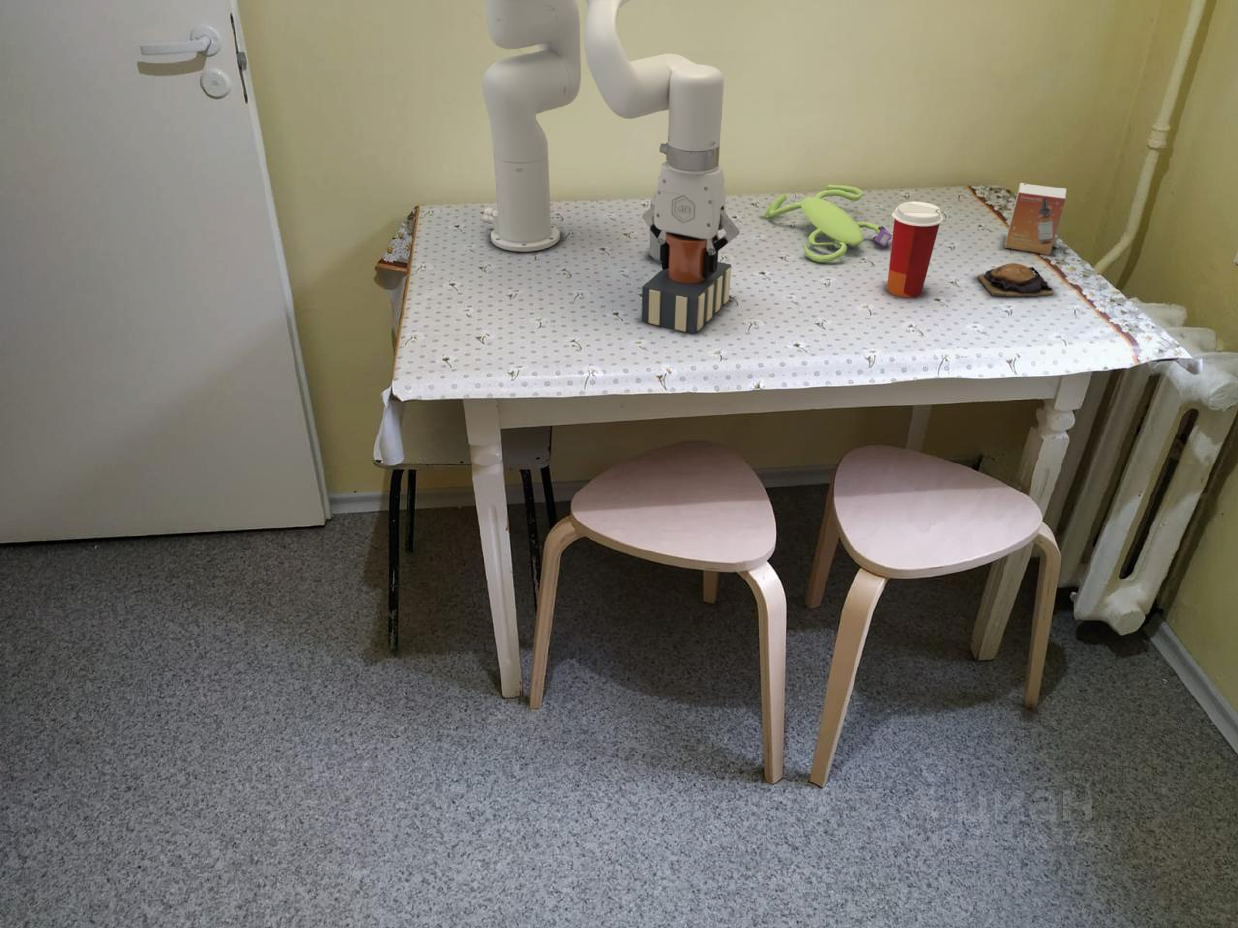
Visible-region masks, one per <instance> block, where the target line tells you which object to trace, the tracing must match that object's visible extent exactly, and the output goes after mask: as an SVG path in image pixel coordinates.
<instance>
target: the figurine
mask: <svg viewBox="0 0 1238 928" xmlns="http://www.w3.org/2000/svg"><path fill="white" fill-rule="evenodd" d="M862 196H863V191H862V189H860V188H859V187H855V186H847V185H841V184H840V185H838V184H827V186H826V190H823V191H820V192H818V193H817V194H816V195H815V196H814V197H813V196H808V197H805V198H803V199H801V201H798V202H795V203H791V204H788V205H785V206H782V205H783V204H784V202H786V201H787V199H788V196H787V195H786V194H781V195H780V196H779V197H778V198H777V199H775V200H774V201H773V202H772V203H770V205H769V206H768V207H767V209H766V211H764V217H765V218H766V219H769V218H771V219H773V218H777V217H779V216H781V215H783V214H785V213H789V212H792V211H796V210H799V209H801V210H802V212H803V215H804V216H805V217H806V219H807V220H808V221H809V222H810V224H811V225H812V226H814V228H815V230H813V231H812V232H811V233H810V235H809V236H808V238H807V240H808V241H807V242H808V243H807V242H805V243H804V244H803V252H804V255H805V256H806V257H807V258H808V259H810V260H811V261H813V262H816V263H829V262H833V261H836V260H838V259H839V258H841V257H842V256H843V255H845V254H846V253H847V250H848V246H854V247H855V246H858V245H861V244H862V243H863V242H864V233H863V232H862V229H861V228H866V229H869V230H873V231H874V232H876V234H877V235H875V236H873V237H872V240H873V241H874V242H876V243H878V244H880V245H881V246H883V247H886V246H887V245H888V243H889V242H890V240H891V239H892V237H893V234H891V233H890V231H888V230H887V229H886V227H884V226H882V225H881V226H880V225H879V224H874V223H873V222H869V221H855V219H854V218H853V217H852V216H851V215H849V213H847V212H846V211H844V209H842V208H841V207H840V206H837V205H836V204H834V203H832V202H830V201H828V200H826V199H823V198H826V197H827V198H828V197H841V198H844V199H846V200H849V201H852V202H857V201H860V200H861V199H862ZM822 234H823V235H824V236H826V237H828V238H829V239H831V240H833V241H832V242H816V241H815V240H816V238H817V237H818V236H820V235H822ZM808 244H810V245H811V246H817V247H819V246H834V247H835V248H836V249H838V250H836V251H835V252H833V253H830V254H826V255H825V254H823V255H817V254H815V253H813V252H811V251H810V250H809V248H808ZM847 245H848V246H847Z"/></svg>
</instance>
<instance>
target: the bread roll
mask: <svg viewBox="0 0 1238 928" xmlns="http://www.w3.org/2000/svg"><path fill="white" fill-rule="evenodd" d="M977 280H979V282H981V284H982V285H983V286H984V287H985V289H986V290H987V291H988V292H989V293H990V294H991V295H992V296H1000V297H1001V296H1003V297H1035V298H1036V297H1037V296H1038V297H1042V296H1044V297H1045V296H1046V297H1048V296H1053V294H1054V291H1053V287H1050V286H1049V285H1048V282H1047V281H1045V279H1044V278H1043V276H1041V273H1040V272H1039V271H1038V270H1037V269H1035V267H1033V266H1030V267H1027V266H1026V265H1024V264H1021V263H1012V262H1011V263H1006V264H1002V265H1000V266H997V267H995V268H991V269H989V270H986V271H985V273H980V274H978V275H977Z"/></svg>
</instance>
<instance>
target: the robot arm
mask: <svg viewBox="0 0 1238 928" xmlns="http://www.w3.org/2000/svg"><path fill="white" fill-rule="evenodd" d="M484 1H485V11H486V24H487V30H488V34H489V36H490V40H492V42H493V43H494V44H495V45H496V46H497V47H499V48H501V49H505V50H517V49H518V50H519V49H524V48H530V47H535V46H538V51H535V52H530V53H524V54H518V55H514V56H509V57H505V58H502V59H500V60H497V61H496V62H494V63H493V64H491V65H490V66H489V67H488V68H487V69H486V70H485V72H484V75H483V76H482V77H483V78H482V94H483V98H484V103H485V107H486V110H487V115H488V120H489V124H490V131H491V141H492V153H493V162H494V163H493V166H494V178H495V179H494V181H495V193H496V195H495V196H496V206H497V207H496V208H497V209H496V208H492V207H491V208H490V207H486V208H484V210H483V212H482V213H483V215H482V217H481V221H482V223H484V224H492V226H493V229H492V231H491V232H490V240H491V241H490V242H491V243H492V244H493V245H494V246H496V247H497V248H500V249H501V250H506V251H508V252H509V251H510V252H518V253H520V252H521V253H522V252H523V253H527V252H537V251H543V250H546V249H548V248H551V247H553V246H554V245H556V244H557V243H559V241H560V238H561V232H560V230H559V228H558V227H557V226H555V225H554V224H552V217H551V215H552V214H551V192H550V164H549V163H550V162H549V144H548V138H547V135H546V133H545V131H544V129H543V128H542V126H541V125H540V123H539V122H538V120H537V117H536V116H537V115H538V114H542V113H544V112H547V111H552V110H555V109H559V108H563V107H565V106H568V105H570V104H571V103H573V102H574V101H575V100H576V98H577V97H578V95H579V92H580V88H581V80H582V63H581V61H582V60H581V57H582V56H581V21H580V11H579V6H578V2H577V0H484ZM585 1H586V4H587V15H586V19H585V24H584V51H585V61H586V63H587V66H588V69H589V72H590V74H591V77H592V78H593V81H594V82H595V85H596V87H597V89H598V91H599V93H600V95H601V97H602V99H603V101H604V102H605V104H606V105H607V107H608V108H609V109H610V110H611V111H612V112H613V114H615V115H616V116H617V117H620V118H622V119H626V120H627V119H628V120H629V119H630V120H632V119H637V118H641V117H645V116H648V115H652V114H654V113H659V112H664V111H668V128H667V129H668V130H667V142H666V143H662V142H661V143H660V144H659V153H662V154H664V155H665V161H664V162H663V163H662V164H661V166H660V170H659V176H658V182H657V186H656V190H657V192H656V200H655V205H654V206H653V207H652V208H651V207H650V208H649V209H648V210H647V211H646V212H644V213H643V214H642V220H643V221H644V223H645V224H646V225H647V227H649V231H650V230H651V232H652V233H653V234H654V235H655V237H656V238H657V242H658V244H660V261H661V262H662V263H661V262H660V263H661V270H662V269H663V270H666V269H668V261H669V244H668V243H667V242H666V240H665V234H666V232H669V233H674V234H679V235H684V236H689V237H694V238H699V239H706V240H707V247H706V249H707V253H706V254H705V255H704V263H703V277H704V278H705V279H708V278H709V277H710V276H711V275H712V274H713V273H715V272H716V270H717V265H718V262H719V251H720V250H722V249H723V248H724V247H726V246H727V245H728V244H730V242H732V241H733V240H734V239H735V238H737V237H738V236H739V235H740V233H741V231H740V229H739V228H738V227H737V226H736V224H735V223H734V222H733V220H732V219H731V218H730V216H729V215H728V214H727V213H726V211H727V210H726V207H727V205H726V203H727V202H726V184H725V183H726V182H725V175H724V169H723V166H722V165H720V152H721V151H720V150H721V131H722V118H723V117H722V115H723V99H724V86H725V85H724V81H725V80H724V75H723V73H722V71H721V70H720V69H718V68H717V67H715V66H712V65H709V64H700V63H696V62H693V61H692V60H690V59H688V58H686V57H685V56H683V55H680V54H678V53H673V52H668V53H660V54H657V55H653V56H647V57H643V58H639V59H635V60H629V58H628V55H627V54H626V52H625V49H624V46H623V45H622V43H621V39H620V36H619V32H618V24H617V22H618V15H619V11H620V9H621V8H622V7H623V6H625V4H627V3H628V2H629V1H630V0H585ZM722 230H724V231H725V235H723V236H722V237H720V235H719V231H722ZM713 237H714V239H712V238H713Z"/></svg>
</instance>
